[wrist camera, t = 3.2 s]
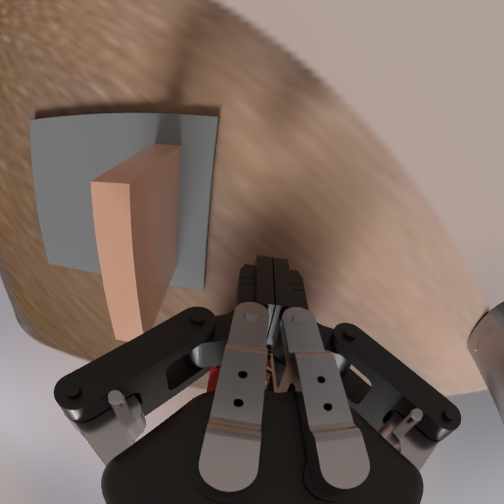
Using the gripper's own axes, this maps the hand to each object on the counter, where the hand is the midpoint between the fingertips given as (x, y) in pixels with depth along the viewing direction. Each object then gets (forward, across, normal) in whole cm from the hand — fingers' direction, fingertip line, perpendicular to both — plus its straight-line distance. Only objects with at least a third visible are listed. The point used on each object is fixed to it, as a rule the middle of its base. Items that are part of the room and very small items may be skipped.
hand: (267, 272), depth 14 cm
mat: (+7, +11, 0) cm, 13 cm away
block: (+6, +7, 0) cm, 9 cm away
